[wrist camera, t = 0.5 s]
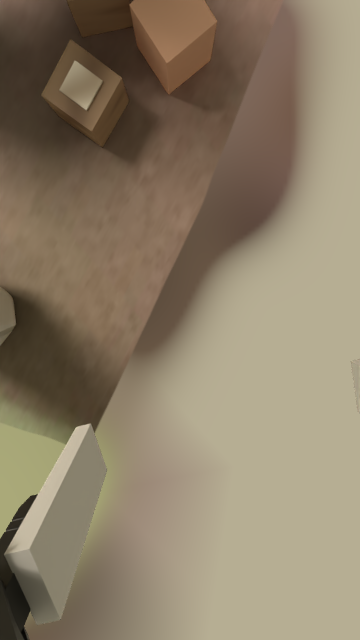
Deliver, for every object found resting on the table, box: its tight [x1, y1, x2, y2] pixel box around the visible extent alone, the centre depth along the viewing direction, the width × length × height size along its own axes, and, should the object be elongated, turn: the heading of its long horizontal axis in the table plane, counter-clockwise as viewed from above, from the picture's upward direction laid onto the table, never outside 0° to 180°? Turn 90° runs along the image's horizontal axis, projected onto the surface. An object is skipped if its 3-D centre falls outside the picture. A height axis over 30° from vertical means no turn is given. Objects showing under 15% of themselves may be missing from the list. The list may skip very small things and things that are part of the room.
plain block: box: [129, 0, 217, 95], centre depth 32 cm, size 6×6×6 cm
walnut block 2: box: [41, 39, 129, 148], centre depth 34 cm, size 6×6×5 cm
